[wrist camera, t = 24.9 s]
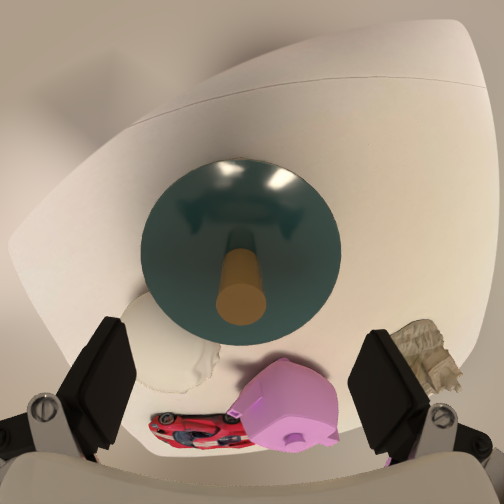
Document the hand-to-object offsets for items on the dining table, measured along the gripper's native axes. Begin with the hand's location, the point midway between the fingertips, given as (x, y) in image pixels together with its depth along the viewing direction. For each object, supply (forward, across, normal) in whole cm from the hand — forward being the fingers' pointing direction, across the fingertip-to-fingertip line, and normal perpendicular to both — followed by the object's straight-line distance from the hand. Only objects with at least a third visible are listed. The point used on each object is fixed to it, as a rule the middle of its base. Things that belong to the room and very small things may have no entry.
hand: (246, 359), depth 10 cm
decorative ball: (+22, +8, +14) cm, 27 cm away
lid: (+10, 0, +1) cm, 10 cm away
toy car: (+22, +5, +41) cm, 46 cm away
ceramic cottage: (+22, -30, +23) cm, 43 cm away
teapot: (+22, -8, +26) cm, 35 cm away
